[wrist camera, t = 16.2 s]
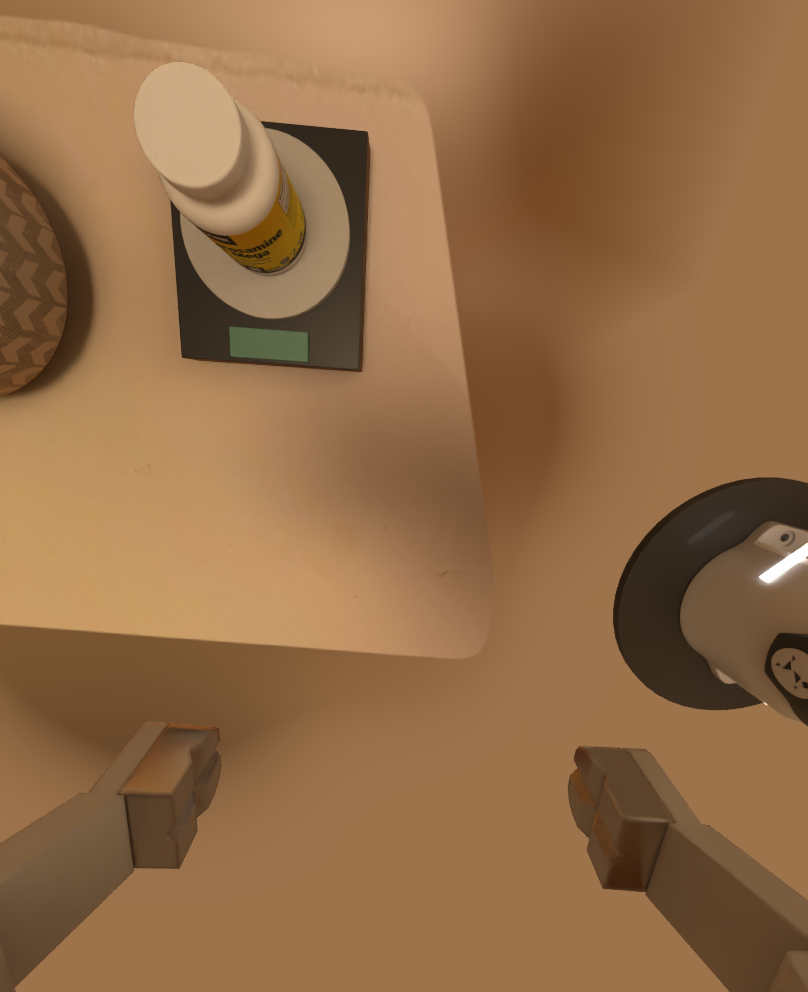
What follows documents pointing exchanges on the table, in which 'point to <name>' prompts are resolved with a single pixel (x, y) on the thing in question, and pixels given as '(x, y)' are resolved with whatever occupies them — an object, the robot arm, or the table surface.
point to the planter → (27, 284)
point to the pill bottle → (220, 167)
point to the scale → (303, 287)
